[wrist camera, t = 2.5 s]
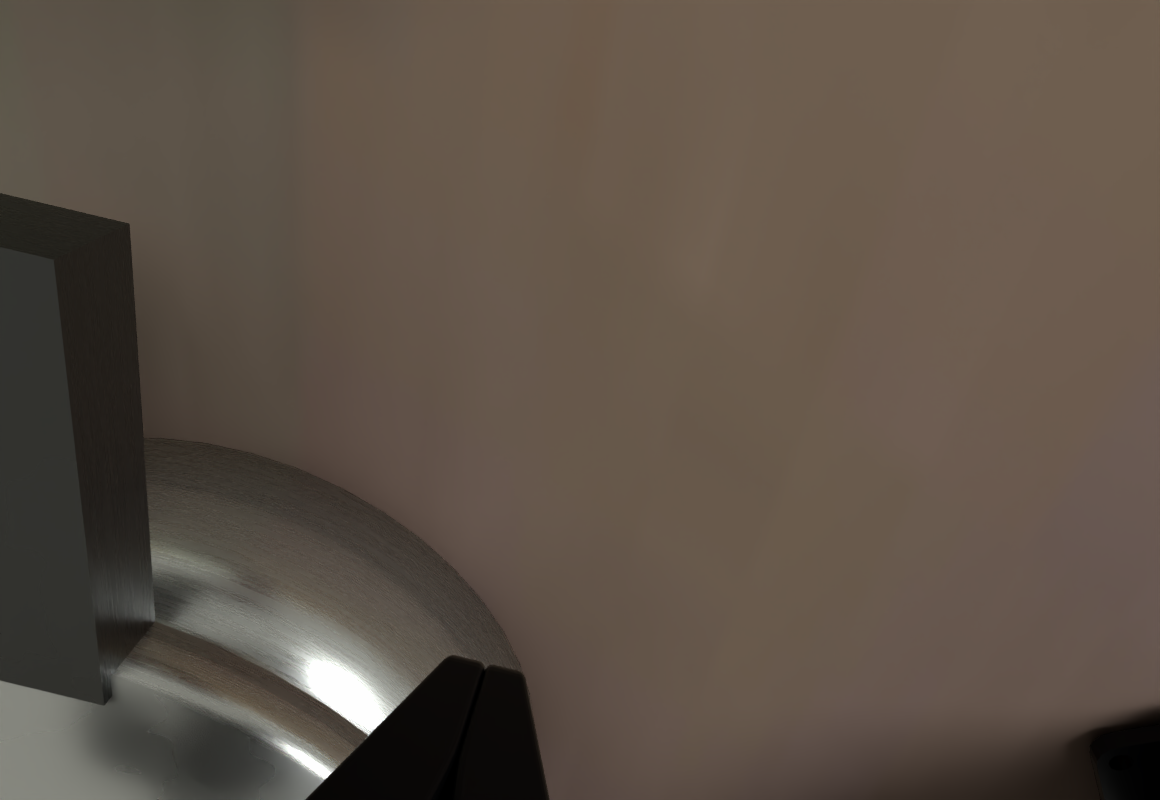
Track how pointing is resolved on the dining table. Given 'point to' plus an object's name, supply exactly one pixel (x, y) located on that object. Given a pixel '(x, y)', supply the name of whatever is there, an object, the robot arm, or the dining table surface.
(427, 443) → the dining table surface
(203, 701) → the cooker lid
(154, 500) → the cooker pot
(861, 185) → the dining table surface
